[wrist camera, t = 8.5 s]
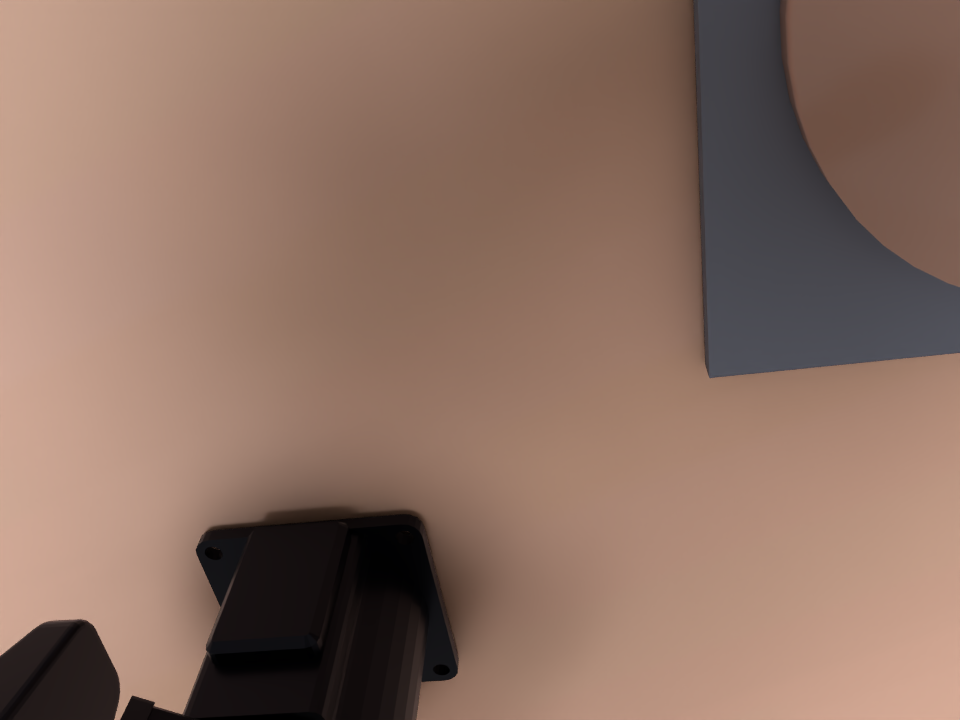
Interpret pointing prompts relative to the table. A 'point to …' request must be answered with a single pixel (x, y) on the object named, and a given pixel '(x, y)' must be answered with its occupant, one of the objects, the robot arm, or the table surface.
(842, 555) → the table surface
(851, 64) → the lid
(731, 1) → the mat
